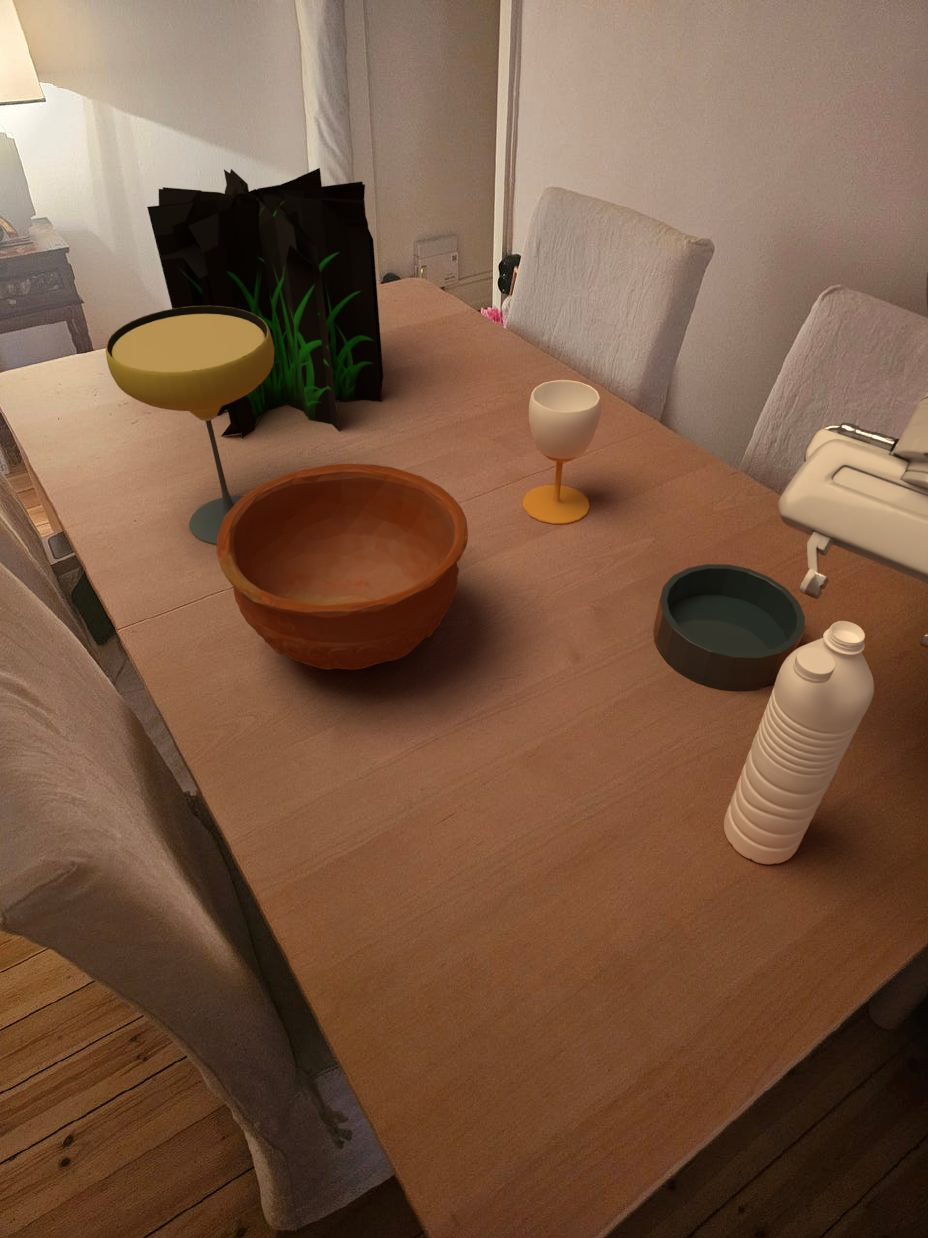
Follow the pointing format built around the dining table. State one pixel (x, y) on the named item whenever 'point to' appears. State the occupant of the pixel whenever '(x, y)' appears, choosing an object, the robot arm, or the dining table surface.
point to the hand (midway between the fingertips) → (866, 620)
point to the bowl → (344, 562)
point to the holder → (727, 626)
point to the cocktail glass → (193, 374)
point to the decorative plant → (282, 285)
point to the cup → (561, 444)
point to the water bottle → (799, 744)
